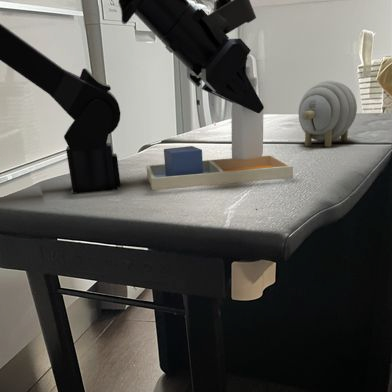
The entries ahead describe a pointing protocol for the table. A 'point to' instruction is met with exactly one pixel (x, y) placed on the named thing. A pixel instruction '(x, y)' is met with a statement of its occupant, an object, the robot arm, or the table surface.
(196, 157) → the slate block
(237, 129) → the eye dropper bottle
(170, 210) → the table surface
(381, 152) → the table surface
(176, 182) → the sorting tray
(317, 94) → the toy sheep
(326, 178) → the table surface
